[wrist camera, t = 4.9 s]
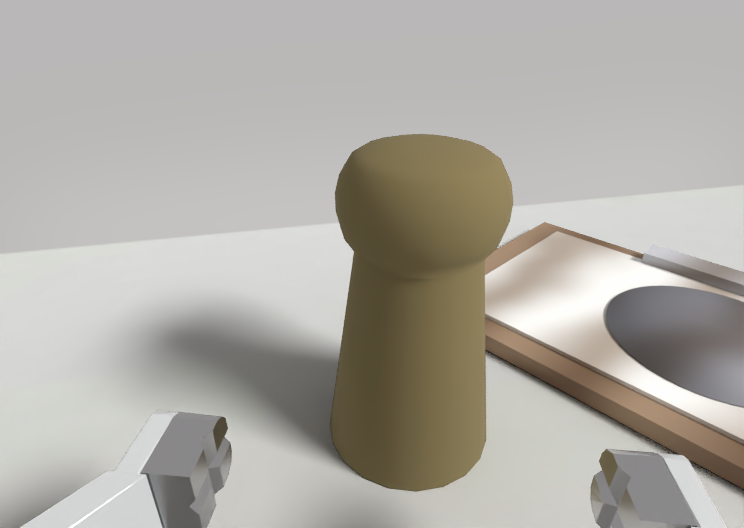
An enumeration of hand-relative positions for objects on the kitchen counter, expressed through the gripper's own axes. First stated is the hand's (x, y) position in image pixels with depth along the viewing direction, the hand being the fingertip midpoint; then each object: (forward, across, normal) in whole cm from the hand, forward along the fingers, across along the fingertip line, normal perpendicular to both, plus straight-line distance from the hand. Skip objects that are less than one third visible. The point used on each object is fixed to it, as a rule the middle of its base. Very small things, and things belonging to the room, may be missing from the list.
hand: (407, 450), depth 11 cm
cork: (+6, 0, +6) cm, 9 cm away
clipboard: (+13, -12, +6) cm, 19 cm away
